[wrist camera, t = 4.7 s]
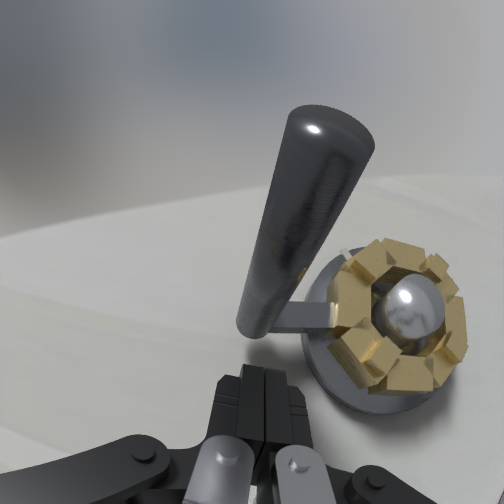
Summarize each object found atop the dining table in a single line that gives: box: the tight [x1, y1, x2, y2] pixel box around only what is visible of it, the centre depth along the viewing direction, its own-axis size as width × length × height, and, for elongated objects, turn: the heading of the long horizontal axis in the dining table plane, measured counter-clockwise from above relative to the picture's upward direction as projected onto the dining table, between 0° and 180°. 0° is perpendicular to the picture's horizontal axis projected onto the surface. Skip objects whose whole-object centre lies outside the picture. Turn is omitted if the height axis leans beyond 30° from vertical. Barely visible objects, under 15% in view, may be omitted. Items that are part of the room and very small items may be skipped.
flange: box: [301, 247, 445, 415], centre depth 19 cm, size 13×13×6 cm
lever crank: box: [236, 105, 468, 396], centre depth 14 cm, size 16×11×14 cm, turn 80°
